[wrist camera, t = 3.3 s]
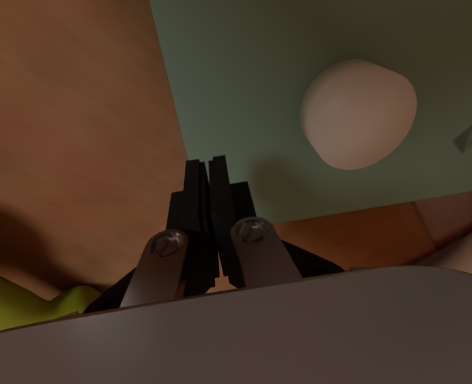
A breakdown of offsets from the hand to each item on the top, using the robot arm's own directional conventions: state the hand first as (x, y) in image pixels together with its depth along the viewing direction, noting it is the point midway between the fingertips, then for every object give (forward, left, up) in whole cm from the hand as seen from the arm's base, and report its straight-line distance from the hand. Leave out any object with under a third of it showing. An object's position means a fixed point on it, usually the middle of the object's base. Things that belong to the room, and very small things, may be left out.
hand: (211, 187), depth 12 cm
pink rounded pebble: (-1, +8, -4) cm, 9 cm away
